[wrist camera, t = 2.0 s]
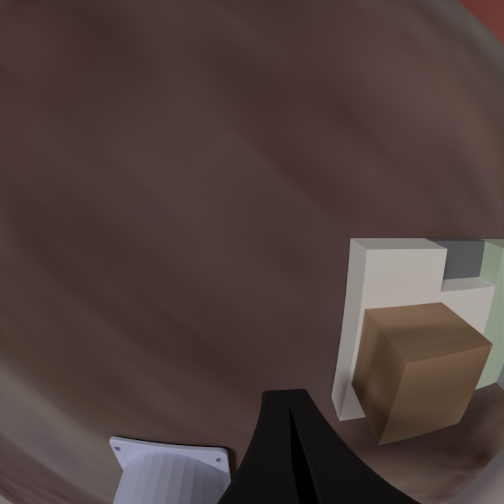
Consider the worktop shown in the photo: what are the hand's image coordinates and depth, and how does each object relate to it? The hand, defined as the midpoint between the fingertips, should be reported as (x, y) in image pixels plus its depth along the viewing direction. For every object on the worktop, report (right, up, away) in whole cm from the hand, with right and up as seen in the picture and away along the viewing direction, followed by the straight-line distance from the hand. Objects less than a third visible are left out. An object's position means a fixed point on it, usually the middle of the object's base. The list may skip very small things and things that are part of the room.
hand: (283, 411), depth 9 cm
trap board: (+9, +1, +5) cm, 11 cm away
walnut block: (+6, +1, +3) cm, 7 cm away
